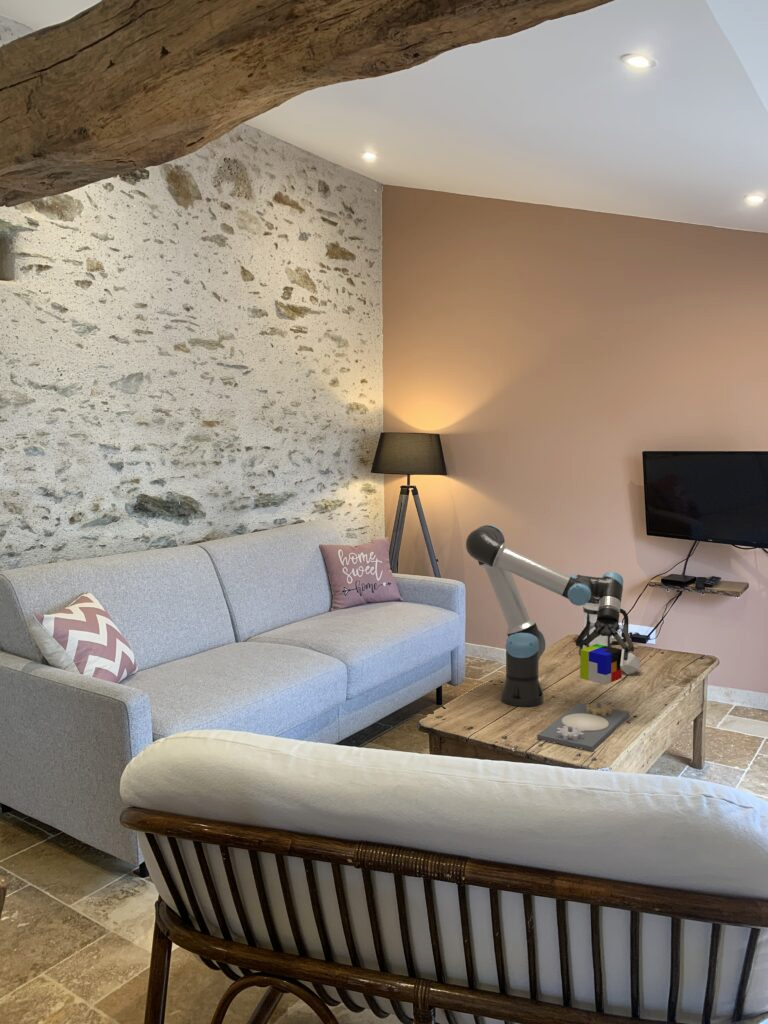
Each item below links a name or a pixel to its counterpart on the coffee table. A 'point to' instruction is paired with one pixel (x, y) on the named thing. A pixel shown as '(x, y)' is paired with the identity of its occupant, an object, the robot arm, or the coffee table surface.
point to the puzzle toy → (600, 664)
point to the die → (631, 664)
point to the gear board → (584, 726)
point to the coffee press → (591, 615)
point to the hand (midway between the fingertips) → (601, 665)
